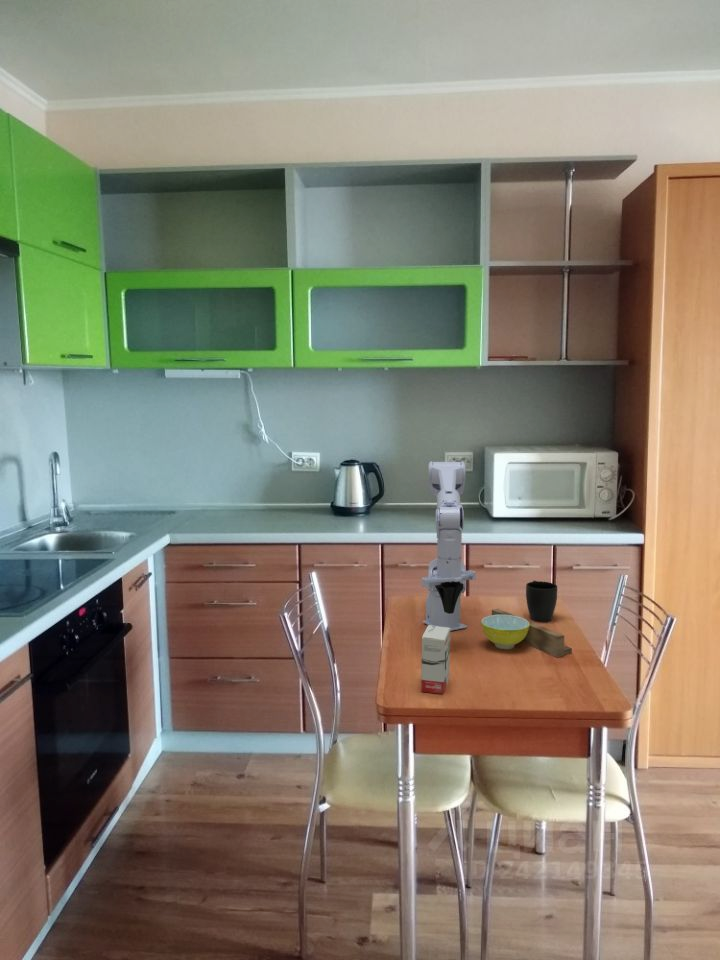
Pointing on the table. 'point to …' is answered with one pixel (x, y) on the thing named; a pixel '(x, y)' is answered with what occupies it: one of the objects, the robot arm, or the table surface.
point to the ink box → (435, 659)
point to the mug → (541, 600)
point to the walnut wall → (542, 638)
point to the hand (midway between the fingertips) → (448, 612)
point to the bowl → (505, 630)
